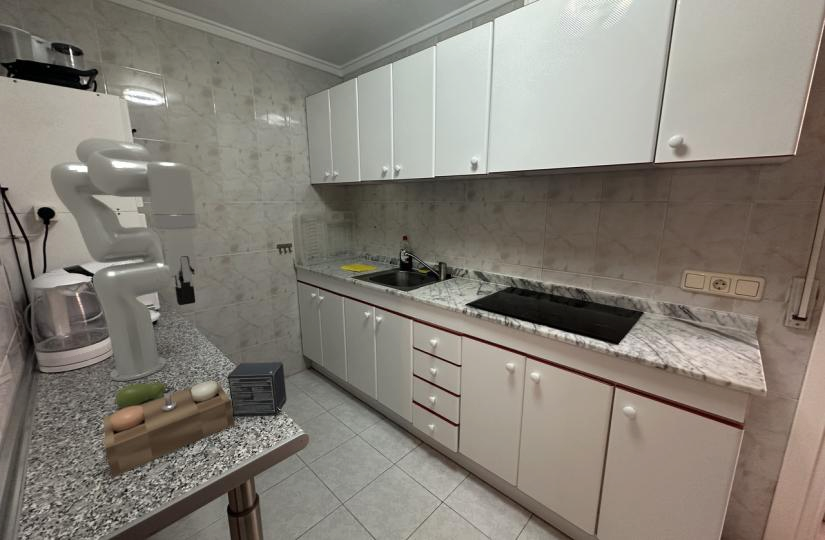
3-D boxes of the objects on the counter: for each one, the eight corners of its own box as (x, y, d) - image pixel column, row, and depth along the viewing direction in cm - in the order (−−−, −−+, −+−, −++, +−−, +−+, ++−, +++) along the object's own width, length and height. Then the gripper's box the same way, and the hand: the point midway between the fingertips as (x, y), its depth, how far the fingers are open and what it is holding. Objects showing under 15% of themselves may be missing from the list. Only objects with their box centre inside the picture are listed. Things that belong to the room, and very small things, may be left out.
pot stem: (161, 408, 67) (157, 388, 66) (175, 403, 69) (172, 384, 68) (163, 413, 66) (159, 393, 65) (177, 408, 67) (174, 388, 66)
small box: (288, 399, 80) (284, 360, 78) (278, 416, 74) (274, 374, 72) (245, 400, 80) (240, 361, 78) (231, 417, 74) (225, 375, 72)
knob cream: (193, 416, 73) (188, 386, 71) (217, 407, 76) (213, 378, 75) (198, 426, 70) (193, 395, 68) (223, 416, 73) (219, 386, 71)
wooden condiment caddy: (109, 442, 66) (103, 417, 65) (219, 401, 80) (215, 379, 78) (112, 477, 58) (105, 448, 56) (234, 424, 71) (230, 400, 70)
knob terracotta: (117, 446, 64) (109, 413, 63) (147, 434, 67) (141, 402, 66) (118, 459, 61) (110, 425, 59) (150, 446, 64) (143, 413, 62)
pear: (113, 385, 77) (165, 375, 85) (113, 406, 78) (164, 394, 85) (117, 393, 74) (170, 382, 81) (116, 415, 74) (169, 402, 82)
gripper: (149, 220, 72) (161, 298, 76) (158, 226, 61) (171, 316, 66) (189, 219, 77) (198, 292, 81) (204, 224, 67) (213, 308, 71)
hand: (186, 303), depth 73 cm, fingers closed
